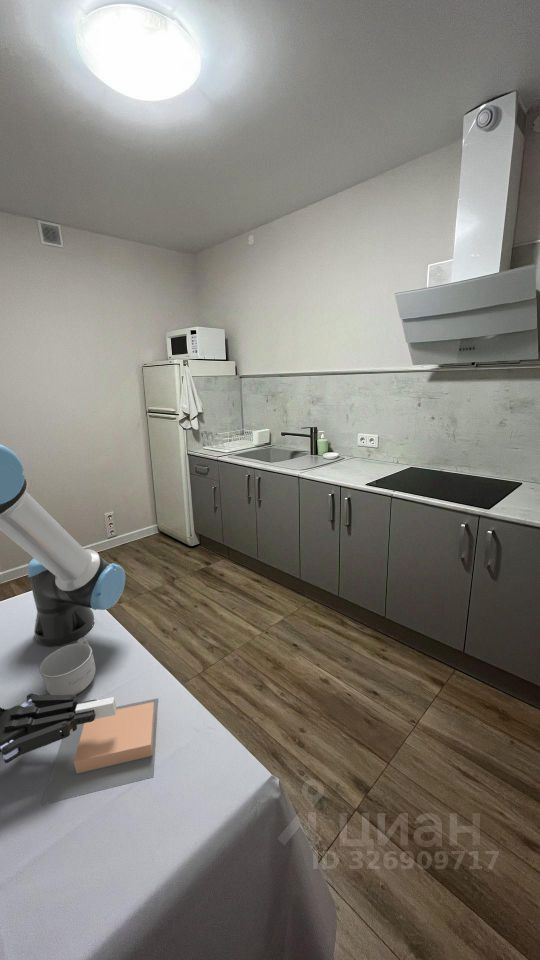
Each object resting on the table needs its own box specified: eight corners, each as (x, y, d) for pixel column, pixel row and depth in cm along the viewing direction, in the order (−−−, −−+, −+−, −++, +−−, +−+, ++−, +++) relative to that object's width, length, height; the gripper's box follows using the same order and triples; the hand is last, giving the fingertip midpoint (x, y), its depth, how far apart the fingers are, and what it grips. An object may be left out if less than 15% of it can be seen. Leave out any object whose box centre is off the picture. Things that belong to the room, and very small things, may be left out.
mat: (69, 718, 83) (69, 716, 83) (158, 700, 86) (158, 698, 86) (41, 807, 66) (41, 804, 66) (154, 779, 69) (153, 777, 69)
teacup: (77, 708, 85) (71, 677, 83) (34, 702, 88) (27, 672, 86) (114, 663, 99) (109, 635, 96) (76, 658, 101) (70, 631, 99)
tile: (86, 716, 79) (153, 701, 82) (88, 727, 80) (155, 713, 82) (73, 762, 70) (150, 744, 72) (76, 774, 70) (152, 756, 73)
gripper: (-6, 721, 77) (122, 695, 81) (-41, 787, 64) (112, 752, 69) (-16, 689, 75) (116, 665, 79) (-54, 751, 62) (105, 718, 67)
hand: (114, 705), depth 74 cm, fingers closed
